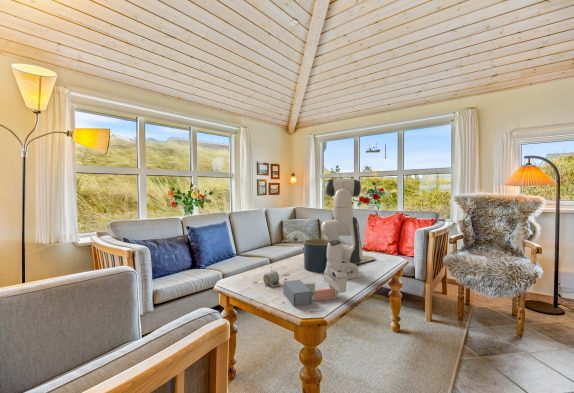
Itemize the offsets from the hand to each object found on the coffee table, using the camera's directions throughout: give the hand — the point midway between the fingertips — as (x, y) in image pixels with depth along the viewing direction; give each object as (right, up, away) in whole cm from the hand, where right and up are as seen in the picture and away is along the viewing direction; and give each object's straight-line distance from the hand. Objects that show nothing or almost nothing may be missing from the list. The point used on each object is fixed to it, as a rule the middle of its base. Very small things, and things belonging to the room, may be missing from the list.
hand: (334, 294), depth 153 cm
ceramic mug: (-35, -1, +20) cm, 41 cm away
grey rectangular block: (-21, -2, -1) cm, 21 cm away
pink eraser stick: (-5, -1, -1) cm, 5 cm away
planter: (-3, 0, +54) cm, 54 cm away
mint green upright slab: (-17, -1, +6) cm, 18 cm away
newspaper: (+32, +1, +70) cm, 77 cm away
